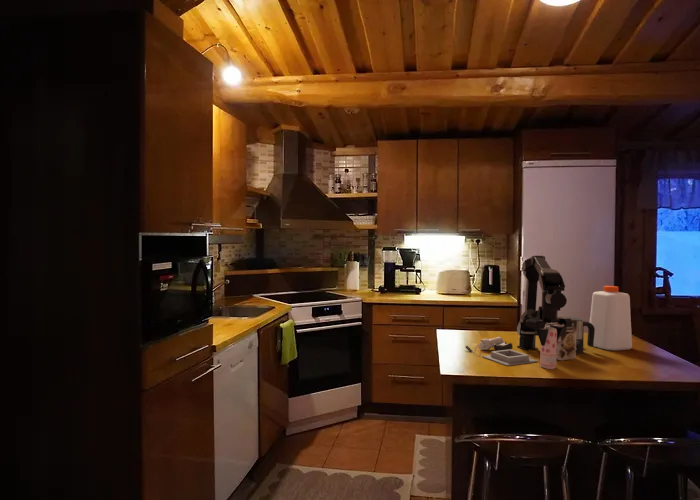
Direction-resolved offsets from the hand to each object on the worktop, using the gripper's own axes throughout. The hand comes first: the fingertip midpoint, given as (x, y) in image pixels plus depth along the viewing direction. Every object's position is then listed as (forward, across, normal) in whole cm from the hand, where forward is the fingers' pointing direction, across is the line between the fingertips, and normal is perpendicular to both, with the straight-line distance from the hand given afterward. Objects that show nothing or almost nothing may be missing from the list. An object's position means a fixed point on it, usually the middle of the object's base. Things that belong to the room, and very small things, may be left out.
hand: (548, 344), depth 178 cm
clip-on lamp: (+9, +5, -28) cm, 29 cm away
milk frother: (+9, -33, -17) cm, 38 cm away
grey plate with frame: (+8, +6, -14) cm, 17 cm away
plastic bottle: (+9, -54, -14) cm, 56 cm away
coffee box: (+9, -17, -8) cm, 21 cm away
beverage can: (+9, 0, 0) cm, 9 cm away
